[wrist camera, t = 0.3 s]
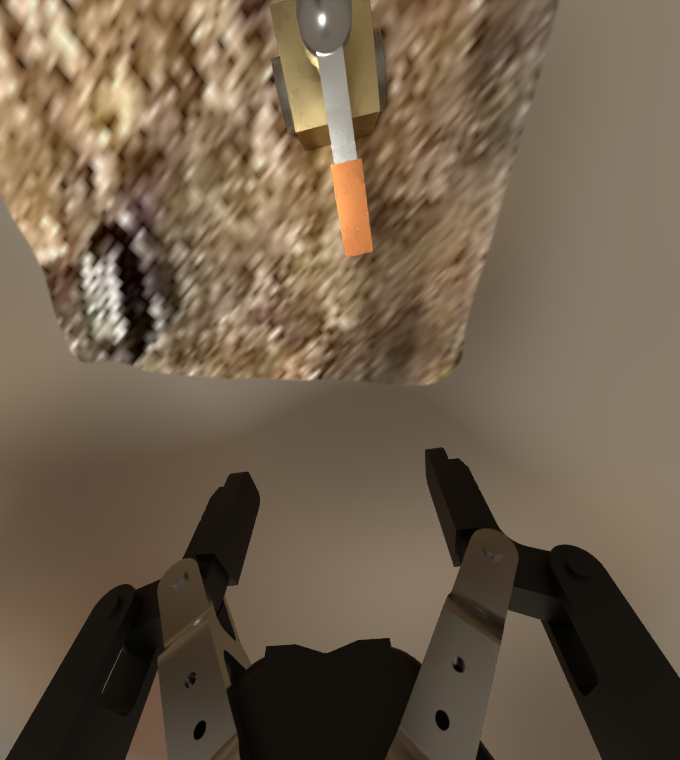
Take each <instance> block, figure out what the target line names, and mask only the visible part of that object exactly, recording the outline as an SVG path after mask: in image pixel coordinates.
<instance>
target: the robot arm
mask: <svg viewBox="0 0 680 760" xmlns="http://www.w3.org/2000/svg"><path fill="white" fill-rule="evenodd" d="M425 464H426V478H427V484H428V487H429V490H430V494H431V497H432V500H433V503H434V506H435V509H436V512H437V515H438V518H439V522H440V525H441V528H442V531H443V534H444V537H445V540H446V543H447V546H448V550H449V553H450V556H451V559H452V561H453V565H454V567H458V566H460V569H459V572H458V575H457V578H456V580H455V583H454V586H453V589H452V591H451V593H450V594H449V595H448V596H447V598H446V601H445V603H444V605H443V608H442V611H441V614H440V617H439V619H438V622H437V624H436V627H435V630H434V633H433V636H432V638H431V641H430V644H429V647H428V649H427V652H426V655H425V657H424V660H423V663H422V664H421V663H420V662H419V661H417V660H416V659H415V658H414V657H412V656H411V655H409V654H408V653H406V652H404V651H402V650H400V649H397V648H393V647H391V643H390V638H383V639H369V640H357V641H355V642H353V643H351V644H348V645H346V646H344V647H341V648H339V649H337V650H334V651H332V652H329V653H322V652H319V651H315V650H312V649H309V648H306V647H302V646H299V645H296V644H295V645H279V646H266V651H265V657H264V658H262V659H260V660H258V661H257V662H255V663H254V664H252V665H251V662H250V660H249V658H248V656H247V654H246V652H245V650H244V649H243V647H242V644H241V642H240V639H239V636H238V633H237V630H236V627H235V624H234V621H233V618H232V615H231V612H230V609H229V606H228V603H227V600H226V597H225V596H224V595H225V591H226V588H227V586H233V585H238V582H239V578H240V575H241V571H242V567H243V563H244V560H245V556H246V553H247V549H248V546H249V542H250V539H251V535H252V531H253V528H254V524H255V520H256V517H257V513H258V510H259V505H260V496H259V492H258V490H257V488H256V486H255V484H254V482H253V480H252V478H251V476H250V474H249V472H240V473H232V474H230V475H229V476H228V478H227V480H226V483H225V485H224V487H219V488H218V489H217V491H216V492H215V493H214V494H213V495H212V496H211V498H210V500H209V502H208V505H207V506H206V511H204V513H203V515H202V517H201V521H200V522H199V524H198V526H197V528H196V531H195V533H194V535H193V537H192V540H191V542H190V544H189V546H188V548H187V550H186V553H185V555H184V557H183V558H182V560H180V561H178V562H176V563H175V564H173V565H172V566H171V567H170V568H169V569H168V570H167V571H166V572H165V574H164V575H163V576H162V578H161V579H160V580H158V581H155V582H153V583H151V584H148V585H146V586H144V587H142V588H139V589H137V590H135V588H133V587H132V586H131V585H129V584H123V585H120V586H117V587H115V588H113V589H112V590H110V591H109V592H108V593H107V594H105V595H104V596H103V597H102V598H101V600H100V601H99V602H98V603H97V604H96V605H95V607H94V608H93V610H92V612H91V614H90V615H89V617H88V619H87V620H86V622H85V624H84V625H83V627H82V629H81V631H80V632H79V634H78V636H77V637H76V639H75V641H74V643H73V645H72V646H71V648H70V650H69V651H68V653H67V655H66V656H65V658H64V660H63V662H62V663H61V665H60V667H59V668H58V670H57V672H56V674H55V675H54V677H53V679H52V680H51V682H50V684H49V686H48V687H47V689H46V691H45V692H44V694H43V696H42V698H41V699H40V701H39V703H38V705H37V706H36V708H35V710H34V712H33V713H32V715H31V717H30V718H29V720H28V722H27V724H26V725H25V727H24V729H23V730H22V732H21V734H20V735H19V737H18V739H17V741H16V742H15V744H14V746H13V748H12V749H11V751H10V753H9V754H8V756H7V758H6V760H125V758H126V755H127V752H128V750H129V747H130V744H131V742H132V739H133V736H134V733H135V730H136V728H137V725H138V722H139V719H140V717H141V714H142V711H143V708H144V706H145V703H146V700H147V697H148V694H149V692H150V689H151V686H152V683H153V681H154V678H155V675H156V672H157V670H158V674H159V684H160V692H161V702H162V711H163V720H164V728H165V729H164V730H165V739H166V747H167V757H168V760H495V759H494V758H493V757H492V755H491V754H490V753H489V752H488V750H487V749H486V747H485V746H484V745H483V743H482V742H481V741H480V737H481V733H482V728H483V723H484V719H485V714H486V710H487V705H488V700H489V696H490V691H491V687H492V682H493V677H494V673H495V668H496V663H497V659H498V654H499V649H500V645H501V640H502V636H503V631H504V624H505V620H506V615H507V610H510V611H514V612H517V613H521V614H524V615H527V616H531V617H534V618H537V619H541V622H542V624H543V626H544V628H545V631H546V633H547V635H548V638H549V640H550V642H551V645H552V647H553V649H554V651H555V653H556V656H557V658H558V660H559V663H560V665H561V667H562V669H563V672H564V674H565V676H566V679H567V681H568V683H569V685H570V688H571V690H572V692H573V694H574V697H575V699H576V701H577V704H578V706H579V708H580V710H581V713H582V715H583V717H584V719H585V721H586V724H587V726H588V729H589V731H590V733H591V735H592V738H593V740H594V742H595V744H596V747H597V749H598V751H599V753H600V756H601V758H602V760H680V678H679V677H678V675H677V673H676V672H675V671H674V669H673V668H672V666H671V665H670V663H669V662H668V660H667V659H666V657H665V656H664V655H663V653H662V651H661V650H660V649H659V647H658V646H657V644H656V643H655V641H654V640H653V638H652V637H651V635H650V634H649V632H648V631H647V630H646V628H645V626H644V625H643V624H642V622H641V621H640V619H639V618H638V616H637V615H636V613H635V612H634V610H633V609H632V607H631V606H630V604H629V603H628V602H627V600H626V599H625V597H624V596H623V594H622V593H621V591H620V590H619V588H618V587H617V586H616V584H615V582H614V581H613V580H612V578H611V577H610V575H609V574H608V572H607V571H606V569H605V568H604V567H603V565H602V564H601V563H600V562H599V561H598V560H597V559H596V558H595V557H594V556H593V555H591V554H589V553H588V552H587V551H585V550H583V549H581V548H579V547H575V546H572V545H558V546H556V547H554V548H553V549H552V550H551V552H550V551H546V550H541V549H536V548H532V547H527V546H524V545H521V544H519V543H517V542H515V541H513V540H511V539H510V538H509V537H507V536H506V535H505V534H504V533H503V532H502V531H501V529H500V528H499V527H498V525H497V523H496V521H495V519H494V517H493V515H492V513H491V511H490V509H489V507H488V505H487V503H486V502H485V499H484V497H483V495H482V493H481V491H480V490H479V487H478V485H477V483H476V482H475V481H474V478H473V476H472V474H471V472H470V470H469V468H468V467H467V466H466V465H465V464H464V463H463V462H462V461H461V460H460V459H459V458H457V459H448V456H447V454H446V452H445V450H444V448H442V447H441V448H434V449H426V450H425ZM121 650H122V651H121ZM120 651H121V653H120ZM119 653H120V656H119V658H118V660H117V662H116V664H115V661H116V659H117V657H118V655H119ZM114 664H115V667H114V669H113V671H112V673H111V675H110V677H109V680H108V682H107V684H106V686H105V688H104V685H105V683H106V681H107V679H108V676H109V674H110V672H111V670H112V668H113V666H114ZM103 688H104V690H103ZM102 690H103V693H102ZM101 694H102V695H101Z"/></svg>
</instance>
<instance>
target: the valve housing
mask: <svg viewBox="0 0 680 760" xmlns="http://www.w3.org/2000/svg"><path fill="white" fill-rule="evenodd" d="M269 6H270V10H271V15H272V20H273V25H274V30H275V35H276V39H277V44H278V49H279V54H280V56H278V57H274V58H272V68H273V74H274V79H275V84H276V89H277V93H278V97H279V102H280V106H281V109H282V113H283V117H284V120H285V124H286V127H287V130H288V132H289V134H290V135H293V134H297V136H298V138H299V140H300V142H301V144H302V145H303V147H304V149H305V151H306V150H310V149H314V148H318V147H322V146H326V145H330V144H331V140H330V134H329V128H328V122H327V115H326V109H325V103H324V97H323V91H322V84H321V78H320V72H319V68H318V67H316V66H315V65H314V64H312V62H311V61H310V60H309V59H308V57H307V55H306V53H305V51H304V48H303V44H302V39H301V35H300V30H299V26H298V21H297V16H296V0H286V1H282V2H279V3H276V4H272V5H269ZM344 61H345V69H346V77H347V84H348V92H349V100H350V108H351V116H352V123H353V131H354V138H358V137H362V136H367V135H371V134H372V133H373V130H374V127H375V124H376V121H377V119H378V116H379V113H380V112H383V111H384V108H385V98H386V77H385V59H384V48H383V41H382V35H381V31H380V28H376V29H373V26H372V15H371V4H370V0H352V24H351V41H350V46H349V50H348V52H347V55H346V57H345V59H344Z"/></svg>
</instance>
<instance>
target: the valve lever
mask: <svg viewBox="0 0 680 760" xmlns="http://www.w3.org/2000/svg"><path fill="white" fill-rule="evenodd" d="M296 16H297V21H298V26H299V30H300V35H301V39H302V44H303V48H304V51H305V53H306V55H307V57H308V59H309V60H310V61H311V62H312V64H314V65H315V66H316V67H318V68H319V72H320V78H321V84H322V91H323V97H324V103H325V109H326V115H327V122H328V128H329V134H330V140H331V146H332V153H333V159H334V165H331V172H332V178H333V184H334V190H335V196H336V202H337V208H338V214H339V220H340V226H341V232H342V238H343V244H344V250H345V256H346V257H350V256H355V255H360V254H364V253H369V252H373V247H372V239H371V231H370V223H369V214H368V206H367V198H366V190H365V182H364V173H363V165H362V158H360V159H357V154H356V147H355V139H354V131H353V123H352V116H351V108H350V100H349V92H348V84H347V77H346V69H345V61H344V59H345V57H346V55H347V52H348V50H349V46H350V41H351V24H352V0H296Z"/></svg>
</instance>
